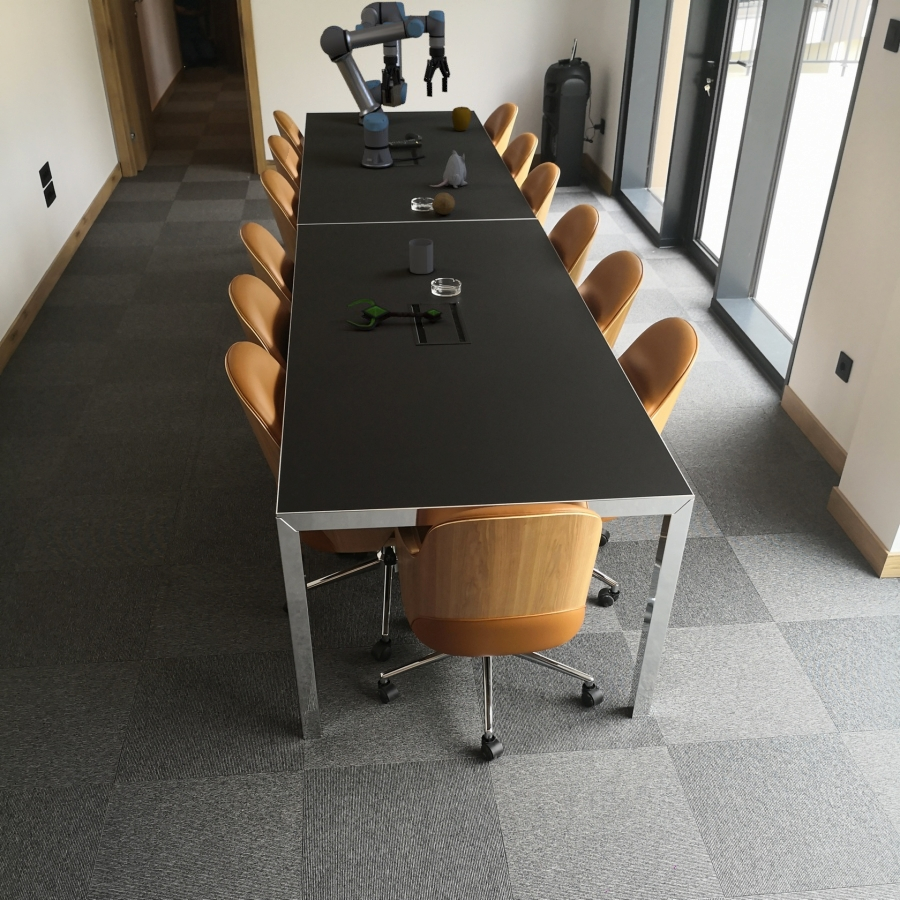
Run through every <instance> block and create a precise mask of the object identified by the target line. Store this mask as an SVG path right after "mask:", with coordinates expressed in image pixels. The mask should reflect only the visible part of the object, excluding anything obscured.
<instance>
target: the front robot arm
mask: <svg viewBox="0 0 900 900" xmlns="http://www.w3.org/2000/svg"><path fill="white" fill-rule="evenodd" d="M445 15H446V14H445V12H444V11H443V10H440V9H439V10H438V9H436V10H435V9H434V10H433V9H432V10H428V14H426V15H413V14H410V15H409V14H408V15H405V16H404V18H403V21H401V22H396V23H390V24H385V25H380V26H375V27H369V28H364V29H359V30H355V29H354V30H348V29H347V28H346V29H343V28H342V27H341V26H338V25H330V26H327V27H325V29H324V30H323V32H322V34H321V36H320V38H319V46H320V48H321V50H322V51H323V53H324V54H325V55H327V56H328V58H329V60H330V62H331V63H334V64H336V66H337V68H338V71H339V72H340V74H341V76H342V77H343V80H344V81H345V84H346V86H347V88H348V90H349V92H350V94H351V96H352V98H353V99H354V101H355V103H356V105H357V108H358V110H359V112H360V114H359V115H358V116H359V118H361V120H362V122H363V125H364V126H363V138H364V139H363V140H364V151H363V155H362V159H361V166H362V167H363V168H366V169H371V170H381V169H387V168H390V167H392V166H394V161H402V162H403V161H411V160H416V159H422V158H425V157H426V156H425V155H418V156H413V157H406V158H392V155H391V152H390V151H391V150H390V147H389V145H390V144H389V127H390V119H389V117H388V115H387V113H386V112H385V111H384V109H383V106H382V105H380V104H379V103H376V102H375V100H374V98H373V96H372V94H371V92H370V90H369V88H368V86H367V84H366V80H365V78H364V76H363V74H362V73H361V72H362V71H361V70H360V69H359V67H358V65H357V62H356V60H355V58H354V57H353V51H354V50H356V49H361V48H366V47H372V46H376V45H381V44H382V45H383V43H387V42H392V41H397V40H401V41H403V40H408V39H419V38H421V37H422V36H423V34H428V46H429V48H428V55H429V56H430V59H429V58H428V59H427V60H426V67H425V71H424V76H423V82H425V83H426V97H429V98H432V97H433V82H432V81H433V77H434V75H435V72H436V71H437V69H439V72H440V74H441V75H442V77H441V92H442V93H448V79H449V78H450V77H451V71H450V68H449V64H448V63H449V62H448V57H447V56H446V48H445V46H446V37H445V35H446V19H445V17H446V16H445ZM381 106H382V107H381Z"/></svg>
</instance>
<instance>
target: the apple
mask: <svg viewBox="0 0 900 900" xmlns="http://www.w3.org/2000/svg"><path fill="white" fill-rule="evenodd" d="M451 121H452V125H453V128H454V129H455V131H457V132H463V131H466V130H467V129H468V128H469V126H470V124H471V121H472V111H471V108H469V107H467V106H462V105H461V106H457V107H454V108H452V111H451Z"/></svg>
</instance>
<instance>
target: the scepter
mask: <svg viewBox="0 0 900 900" xmlns="http://www.w3.org/2000/svg"><path fill="white" fill-rule="evenodd" d="M360 303H368V304H370V305H371V306H369V307H367V308H364V309H362V310H360V312H361V313H362V315H361V317H362V318H363V319H366V320H367V321H369V322H370V324H368V325H361V324H357V323H355V322H353V321H350V320H345V322H346V323H347V324H349V325H351V326H352V327H354V328H355V329H358V330H366V331H367V330H369V331H370V330H374V328H375V327H376V325H377V324H380V323H381V322H384V321H386V320H388V319H390V318H412V319H413V318H416V319H417V318H418V319H421V318H423V319H425V320H427V321H429V322H433V323H435V322H437V321H440V320H442V319H443V317H442V314H443V312H442V311H440V310H437V309H435V308H431V309H429V310H426V311H424V312H422V311H418V312H413V311H409V312H408V311H391V310H389V309H387V308H385V307H383V306H381V305H380V304H377V302H376V301H375V300H374V299H373V298H359V299H356V300H354V301H352V302H350V303H348V304H346V307H352V306H355V305H357V304H360Z"/></svg>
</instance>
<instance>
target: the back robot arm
mask: <svg viewBox="0 0 900 900" xmlns="http://www.w3.org/2000/svg"><path fill="white" fill-rule="evenodd" d="M404 16H406V9H405V3H403V2H402V1H374V2H370V3H369V4H367V5H365V6H364V7H363V9H362V10H361V12H360V20H361V21H360V23H359V24H356V25H355V26H354V27H355V28H354V30H359V29H364V28H369V27H375V26H380V25H385V24H390V23H396V22H401V21H403V18H404ZM402 43H403V40H397V41H392V42H387V43H382V52H383V53H382V54H383V57H382V58H383V59H382V60H383V64H384V68H382V69H381V79H372V80H370V79H369V80H365V82H366V84H367V86H368V88H369V90H370V92H371V94H372V96H373V98H374V100H375V102H376V103H379V104H380V105H381V107H382V108H383V91H382V89H383V90H385V103H390V90H389V85H390V83H395V84H401V105H400V106H403V105H405V104H406V101H407V94H408V82H406V79H405V78H404V77H403V52H402V51H403V50H402V49H403V48H402V47H403V44H402ZM358 114H360V111H358ZM358 124H359V125H360V126H363V127H364V125H363V122H362V120H361V118H360V117H359V119H358Z"/></svg>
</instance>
